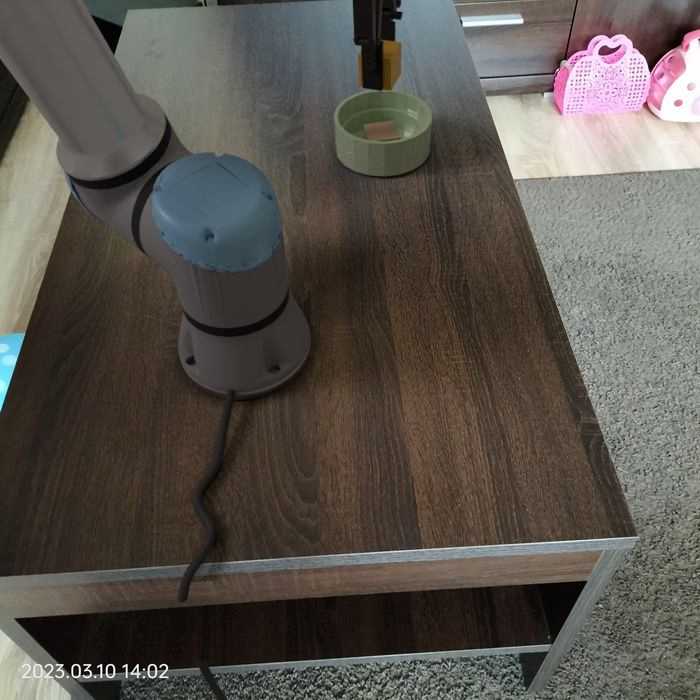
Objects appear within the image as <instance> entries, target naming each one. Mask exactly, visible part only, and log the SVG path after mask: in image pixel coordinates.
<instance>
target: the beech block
mask: <svg viewBox="0 0 700 700" xmlns="http://www.w3.org/2000/svg"><path fill="white" fill-rule="evenodd" d="M364 139H366V140H370V141H393V140H400V139H401V137H400V134H399V132H398V129H397V127H396V125H395V122H394V121H386V122H378V123H371V124H364Z"/></svg>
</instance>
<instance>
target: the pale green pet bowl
mask: <svg viewBox="0 0 700 700" xmlns="http://www.w3.org/2000/svg"><path fill="white" fill-rule="evenodd" d="M433 116H434V115H433V112H432V109H431V107H430V105H429V104H428V103H427V102H426V101H424V100H423V99H422V98H421V97H419V96H417V95H415V94H413V93H410V92H407V91H403V90H398V89H392V90H391V91H388V90H382V91H378V90H372V89H367V90H365V91H361V92H358V93H354V94H352V95H350V96H348V97H346V98H345V99H343V100H342V101H341V102H340V103H339V105H337V107H336V108H335V110H334V114H333V131H334V151H335V153H336V154H335V155H336V157H337V159H338V160H339V161H340V162H341V163H342V164H343V166H345V167H346V168H348V169H349V170H352V171H353V172H356V173H359V174H362V175H366V176H371V177H373V176H374V177H392V176H400V175H403V174H405V173H408V172H413V171H414V170H415V169H417V168H419V167H420V166H422V165H423V164H424V163H425V162H426V160H427V159H428V157H430V153H431V144H432V131H433V129H432V128H433ZM386 121H394V122H395V125H396V127H397V129H398V132H399V134H400V137H401V139H400V140H393V141H370V140H366V139H364V124H371V123H378V122H386Z"/></svg>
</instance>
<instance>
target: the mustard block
mask: <svg viewBox="0 0 700 700" xmlns="http://www.w3.org/2000/svg"><path fill="white" fill-rule="evenodd" d="M381 41H383V90H388V91H391V90H393V88H394V87H395V85H396V83H397V82H398V80H399V78H400V76H401V75H402V41H396V40H395V41H388V40H381ZM357 65H358V86H359V87H361V88H362V56H361V50H359V52H358V54H357Z"/></svg>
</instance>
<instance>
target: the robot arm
mask: <svg viewBox="0 0 700 700" xmlns="http://www.w3.org/2000/svg"><path fill="white" fill-rule="evenodd" d="M401 6H402V0H352V19H353V20H352V21H353V23H352V24H353V38H352V39H353V43H354V45H355V46H357V47H360V51H361V56H362V87H361V88H362V89H364V90H365V89H366V90H378V91H382V90H383V41H381V40H388V41H396V20H397V21H402V19H403V11H399V10H398V9H400V8H401ZM394 20H395V21H394ZM0 60H1V62H2V63H3V65H4V66H5V67H6V68H7V71H9V72H10V74H11V75H12V76H13V78H14V79H15V80H16V82H17V83H18V84H19V86H20V87H21V89H22V90H23V91H24V93H25V94H26V95H27V97H28V98H29V100H30V101H31V102H32V103H33V105H34V107H36V109H37V110H38V112H39V113H40V115H41V116H42V117H43V118H44V120H45V121H46V123H47V124H48V126H50V128H51V129H52V131H53V132H54V133H55V134H56V136H57V137H58V139H57V142H56V149H55V150H56V151H55V152H56V153H55V154H56V155H55V156H56V159H57V162H58V164H59V166H60V167H61V169H62V170H63V172H64V177H65V181H66V183H67V186H68V188H69V190H70V191H71V193H72V195H73V196H74V197H75V199H76V200H77V202H78V203H79V205H80V206H81V207H82V208H83V209H84V210H85V211H86V212H87V213H88V214H90V216H92V218H94V219H96V220H98V221H99V222H101V223H103V224H104V225H106V226H107V227H109V228H110V229H111V230H113V232H115V233H116V234H117V235H119V236H120V237H122V239H124V240H126V242H128V243H129V244H131V245H132V246H133V247H135V248H136V249H137V250H139V251H140V252H141V253H142V254H143V255H145V256H146V257H148V258H149V259H150V260H151V261H153V262H154V263H155V264H157V266H159V267H160V268H161V269H163V270H164V271H166V273H168V275H169V276H170V277H171V279H172V280H173V282H174V286H175V288H176V292H177V296H178V299H179V303H180V305H181V309H182V315H181V321H180V328H179V334H178V340H177V348H178V349H177V350H178V357H179V360H180V363H181V366H182V369H183V372H184V374H185V376H186V377H187V379H188V380H189V381H190V382H191V384H192V385H194V386H195V387H196V388H198V389H199V390H200V391H202V392H204V393H206V394H207V395H210V396H212V397H215V398H220V399H224V404H223V408H222V411H221V416H220V422H219V426H218V431H217V438H216V442H215V443H216V444H215V449H214V452H213V453H214V454H213V458H212V460H211V463H210V466H209V468H208V470H207V472H206V473H205V474H204V475H203V476H202V477H201V479H200V480H199V481H198V483H197V484H196V486H195V488H194V489H193V493H192V496H191V497H192V499H191V500H192V501H191V503H192V506H193V511H194V512H195V513H196V515H197V516H198V518H199V519H200V520H201V522H202V523H203V525H204V527H205V539H204V542H203V545H202V546H201V548H200V550H198V552H197V553H196V555H195V556H194V558H193V559H191V561H190V562H189V564H188V566H187V568H186V569H185V571H184V573H183V574H182V575H183V576H182V578H181V579H180V583H179V588H178V594H177V601H178V603H181V604H183V603H185V602H186V601H188V598H189V591H190V586H191V584H192V580H193V579H194V576H195V574H196V573H197V572H198V569H199V568H200V567H201V565H202V564H203V563H204V562H205V560H206V559H207V558H208V556H209V555H210V553H211V551H212V549H213V547H214V544H215V541H216V537H217V529H216V528H217V527H216V524H215V521H214V520H213V517H211V515H210V514H209V512H208V511H207V509H206V508H205V506H204V504H203V494H204V492H205V489H206V488H207V487H208V486H209V484H210V483H211V482H212V480H213V479H214V478H215V476H216V475H217V473H218V472H219V469H220V467H221V464H222V461H223V457H224V452H225V448H226V442H227V434H228V429H229V424H230V419H231V415H232V411H233V405H234V401H245V400H247V401H248V400H253V399H259V398H264V397H266V396H269V395H271V394H274V393H276V392H278V391H280V390H282V389H283V388H285V387H287V386H289V384H291V383H292V382H293V381H294V380H296V378H297V377H298V376H299V375H300V374H301V373H302V372H303V370H304V369H305V367H306V365H307V363H308V361H309V359H310V355H311V351H312V336H311V335H312V334H311V328H310V326H309V323H308V319H307V318H306V315H305V314H304V312H303V310H302V309H301V307H300V306H299V304H298V303H297V301H296V299H295V298H294V296H293V295H292V293H291V292H290V288H289V287H290V286H289V280H288V279H289V278H288V270H287V259H286V251H285V243H284V241H285V240H284V233H283V230H284V229H283V217H282V212H281V210H280V206H279V203H278V199H277V195H276V192H275V188H274V186H273V185H272V183H271V181H270V179H269V178H268V177H267V175H266V174H265V173H264V172H263V171H262V170H261V169H260V168H259V167H258V166H257V165H255V164H253V163H252V162H250V161H249V160H247V159H245V158H242V157H240V156H237V155H234V154H230V153H223V154H222V155H219V156H217V155H216V154H215V152H211V151H208V152H207V151H206V152H198V153H193V152H191V151H190V150H189V149H188V148H187V147H186V146H185V145H184V144H183V143H182V141H181V140H180V138H179V137H178V136H179V135H177V132H176V131H175V129H174V127H173V126H172V124H171V122H170V120H169V119H168V116H167V115H166V113H165V111H164V109H163V108H162V106H161V105H160V104H159V102H158V101H157V100H155V98H152V97H151V96H148V95H146V94H143V93H138V92H136V91H135V89H134V88H133V86H132V84H131V82H130V81H129V78H128V77H127V75H126V74H125V71H124V70H123V68H122V67H121V65H120V63H119V62H118V60H117V58H116V56H115V54H114V53H113V51H112V50H111V48H110V46H109V43H108V42H107V41H106V39H105V37H104V35H103V34H102V32H101V30H100V29H99V27H98V25H97V23H96V22H95V20H94V18H93V16H92V15H91V12H90V11H89V9H88V7H87V6H86V4H85V3H84V0H0ZM195 662H196V664H197V667H198V669H199V672H200V674H201V675H202V677H203V679H204V681H205V682H206V684H207V686H208V687H209V689H210V691H211V692H212V694H213V695H214V697H215V698H216V699H217V700H228V698H227V696H226V694H225V693H224V692H223V690H222V689H221V687H220V685H219V683H218V682H217V680H216V679H215V676H214V675H213V673H212V670H211V669H210V666H209V664H208V662H207V660H202V659H195Z"/></svg>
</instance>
